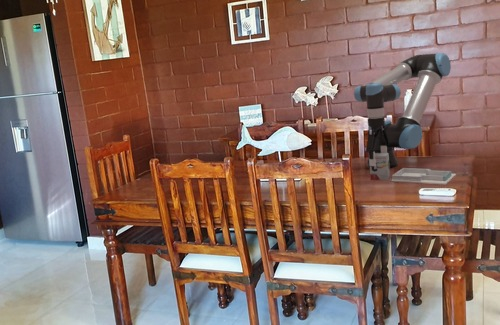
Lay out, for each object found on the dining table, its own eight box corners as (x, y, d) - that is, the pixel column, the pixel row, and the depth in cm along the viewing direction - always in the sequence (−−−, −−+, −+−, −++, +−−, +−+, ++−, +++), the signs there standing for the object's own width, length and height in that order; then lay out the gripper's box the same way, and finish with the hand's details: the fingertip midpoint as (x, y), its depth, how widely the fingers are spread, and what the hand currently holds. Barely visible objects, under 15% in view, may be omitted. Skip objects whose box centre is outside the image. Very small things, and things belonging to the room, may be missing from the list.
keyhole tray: (404, 172, 243) (403, 167, 242) (456, 175, 228) (455, 169, 228) (391, 181, 231) (391, 176, 230) (445, 184, 216) (445, 178, 216)
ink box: (370, 180, 237) (368, 155, 235) (371, 177, 242) (370, 153, 239) (389, 179, 234) (387, 155, 232) (390, 177, 239) (388, 152, 236)
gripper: (379, 113, 244) (381, 156, 248) (356, 121, 225) (359, 168, 229) (394, 113, 239) (396, 156, 243) (372, 121, 220) (375, 169, 224)
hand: (378, 162), depth 236 cm, fingers open, 13 cm apart
